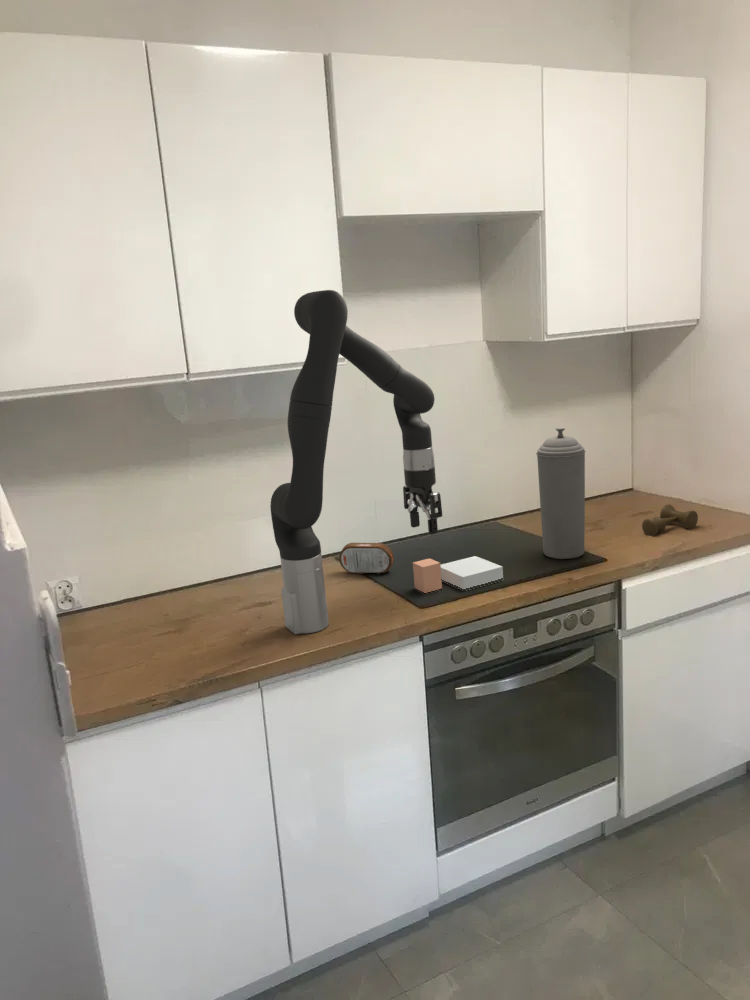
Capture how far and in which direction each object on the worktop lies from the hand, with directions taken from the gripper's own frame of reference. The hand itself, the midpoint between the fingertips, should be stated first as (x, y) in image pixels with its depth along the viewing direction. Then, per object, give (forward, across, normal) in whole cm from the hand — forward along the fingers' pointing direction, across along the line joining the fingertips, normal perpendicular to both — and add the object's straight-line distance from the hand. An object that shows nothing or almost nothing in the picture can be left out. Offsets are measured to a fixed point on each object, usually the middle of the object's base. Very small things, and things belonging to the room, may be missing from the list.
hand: (424, 530), depth 194 cm
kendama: (+16, +3, +81) cm, 83 cm away
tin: (+16, -22, -6) cm, 28 cm away
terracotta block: (+15, 0, 0) cm, 15 cm away
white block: (+16, +1, +12) cm, 20 cm away
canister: (+16, +1, +43) cm, 46 cm away
